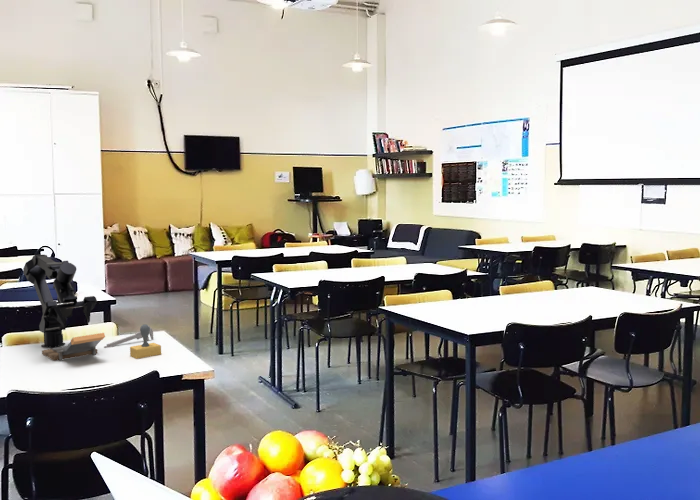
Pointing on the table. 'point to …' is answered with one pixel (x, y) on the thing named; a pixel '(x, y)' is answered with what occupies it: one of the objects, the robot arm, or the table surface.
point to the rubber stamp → (145, 346)
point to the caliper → (130, 338)
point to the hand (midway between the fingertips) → (76, 323)
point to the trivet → (57, 355)
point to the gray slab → (83, 343)
